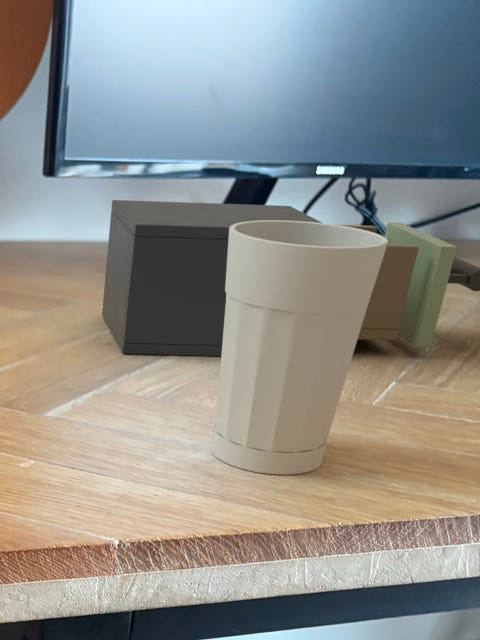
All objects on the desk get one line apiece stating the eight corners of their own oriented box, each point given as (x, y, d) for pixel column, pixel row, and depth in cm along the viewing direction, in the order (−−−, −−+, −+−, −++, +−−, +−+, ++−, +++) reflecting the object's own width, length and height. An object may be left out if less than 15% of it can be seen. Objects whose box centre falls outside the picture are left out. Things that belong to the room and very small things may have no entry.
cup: (366, 463, 57) (421, 241, 50) (270, 490, 53) (316, 252, 47) (262, 422, 62) (300, 216, 56) (168, 443, 58) (197, 225, 52)
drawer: (429, 315, 85) (452, 224, 81) (485, 349, 76) (514, 248, 72) (224, 309, 84) (238, 217, 80) (257, 343, 75) (275, 240, 71)
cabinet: (270, 320, 85) (290, 205, 80) (313, 358, 75) (339, 230, 71) (101, 315, 84) (112, 199, 80) (122, 354, 74) (135, 224, 70)
